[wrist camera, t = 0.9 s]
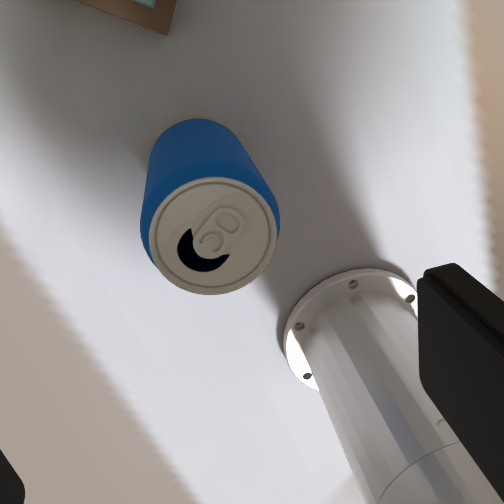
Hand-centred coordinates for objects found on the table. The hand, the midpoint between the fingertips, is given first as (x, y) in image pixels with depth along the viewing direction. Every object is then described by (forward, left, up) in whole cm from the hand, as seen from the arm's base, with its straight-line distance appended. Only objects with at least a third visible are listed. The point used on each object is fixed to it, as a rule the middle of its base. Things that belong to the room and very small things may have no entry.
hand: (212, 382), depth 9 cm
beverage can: (-1, +1, -23) cm, 23 cm away
